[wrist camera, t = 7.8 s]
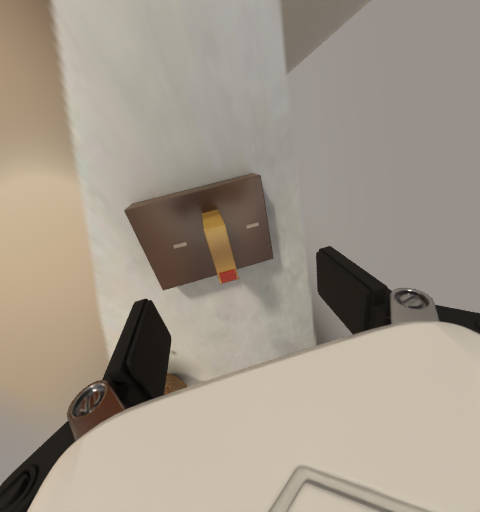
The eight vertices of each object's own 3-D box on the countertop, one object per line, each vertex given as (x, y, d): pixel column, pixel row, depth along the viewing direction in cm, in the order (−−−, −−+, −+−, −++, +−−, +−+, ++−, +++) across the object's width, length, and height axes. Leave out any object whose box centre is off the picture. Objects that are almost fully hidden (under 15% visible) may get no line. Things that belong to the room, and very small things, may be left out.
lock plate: (253, 172, 24) (261, 175, 21) (266, 249, 28) (274, 259, 26) (132, 203, 23) (123, 210, 20) (165, 277, 27) (162, 291, 25)
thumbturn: (201, 213, 22) (203, 231, 17) (218, 209, 22) (225, 225, 17) (215, 258, 24) (220, 285, 19) (230, 254, 24) (239, 280, 19)
